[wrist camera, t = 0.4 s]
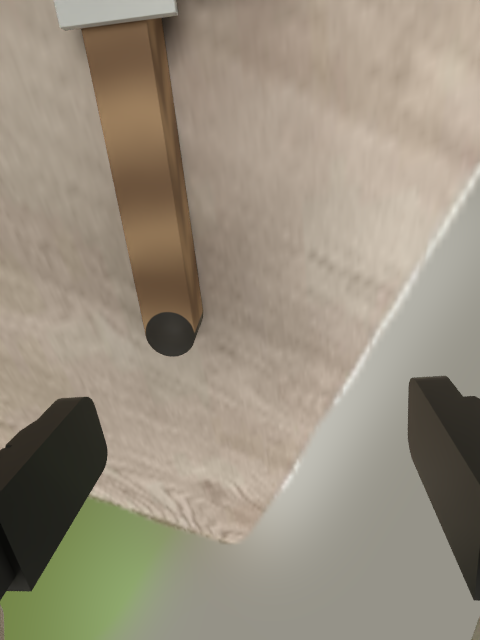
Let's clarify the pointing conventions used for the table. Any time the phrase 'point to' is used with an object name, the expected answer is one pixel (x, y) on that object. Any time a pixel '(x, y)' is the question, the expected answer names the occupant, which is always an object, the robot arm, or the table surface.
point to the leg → (148, 176)
